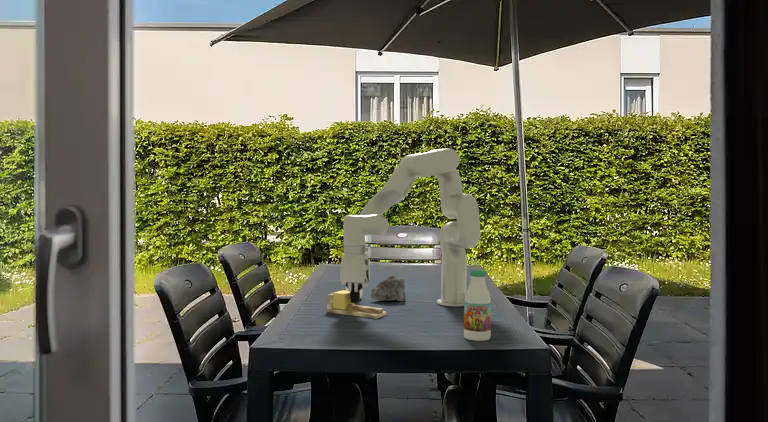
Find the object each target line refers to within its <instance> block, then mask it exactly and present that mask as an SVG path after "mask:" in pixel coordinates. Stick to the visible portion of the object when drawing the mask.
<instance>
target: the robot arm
mask: <svg viewBox="0 0 768 422" xmlns="http://www.w3.org/2000/svg"><path fill="white" fill-rule="evenodd" d="M459 165H460V156H459V153H458V152H457V151H456V150H455V149H452V148H439V149H431V150H429V151H427V152H423V153H422V152H421V153H414V154H413V153H412V154H408V155H405V156H404V157H403V158H402V159H401V160H400V161H399V163H398V164H397V166H396V168H395V169H394V170H393V172H392V174H391V176H390V177H389V178H388V180H387V181H386V183H385V184H384V185H383V187H382V188H380V189H379V190H378V191H377V192H376V193H375V195H373V196H372V197H371V198H370V199H369V200H368V201H367V203H366V204H365V206H364V207H363V209H362V211H360V213H359V214H347V215H345V216H344V218H343V223H342V225H343V228H342V229H343V253H342V255H341V259H340V268H339V271H340V272H339V274H340V275H339V276H340V281H341V282H340V285H342V286H343V287H345V288H346V287H347V288H348V289H349V291H350V300H351V303H354V304H357V303H359V302H360V300H361V298H360V291H361V289H362V290H363V288H366V287H369V286H370V284H369V282H370V281H371V266H370V265H371V264H370V261H369V260H370V259H369V255H368V254H367V253H366V252H369V248H368V247H366V235H367V236H368V235H370V236H381V235H384V234H385V233H386V232H387V231H388V228H389V221H388V219H387V217H386V216H384V215H383V214H384V213H385V212H386V211H387V210H389V209H390V208H391V207H393V206H394V205H397V204H398V203H400V202H401V201H403V200H404V199H405V198H406V197H407V195H408V193H409V192H410V190H411V189H412V187H413V185H414V184H415V182H416V180H417V179H418V178H425V177H432V176H433V177H435V178H436V180H437V182H438V185H439V187H438V188H439V195H440V197H439V198H440V206H441V207H440V209H441V213H442V215H443V216H444V217H446V218H447V219H454V220H455V219H456V221H449V222H447V223H445V224H444V225H442V227H441V228H440V230H439V240H440V246H441V247H440V248H441V277H440V278H441V283H440V284H441V286H440V288H441V289H440V293H441V294H440V296H441V297H440V298H439V299H437V300H436V303H437V304H438V305H440V306H444V307H453V308H454V307H460V308H462V307H464V303H465V295H466V292H467V267H468V266H467V265H468V264H467V263H468V258H467V252H466V249H467V250H468V249H469V250H470V249H473V248H475V247H476V246H477V245H478V244H479V242H480V239H481V221H480V209H479V204H478V202H477V199H476V198H475V197H474V196H473V195H471V194H469V193H463V192H464V191H463V185H462V184H463V183H462V179H461V175H460V172H459V171H458V170H457V169H458V167H459Z"/></svg>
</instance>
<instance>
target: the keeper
mask: <svg viewBox="0 0 768 422" xmlns="http://www.w3.org/2000/svg"><path fill="white" fill-rule="evenodd" d="M332 293H333V308H335V309H343V310H346V309H347V305H348V304H352V305H355V303H351V300H350V291H345V290H344V289H343V290H339V291H338V290H337V291H334V292H332Z"/></svg>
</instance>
